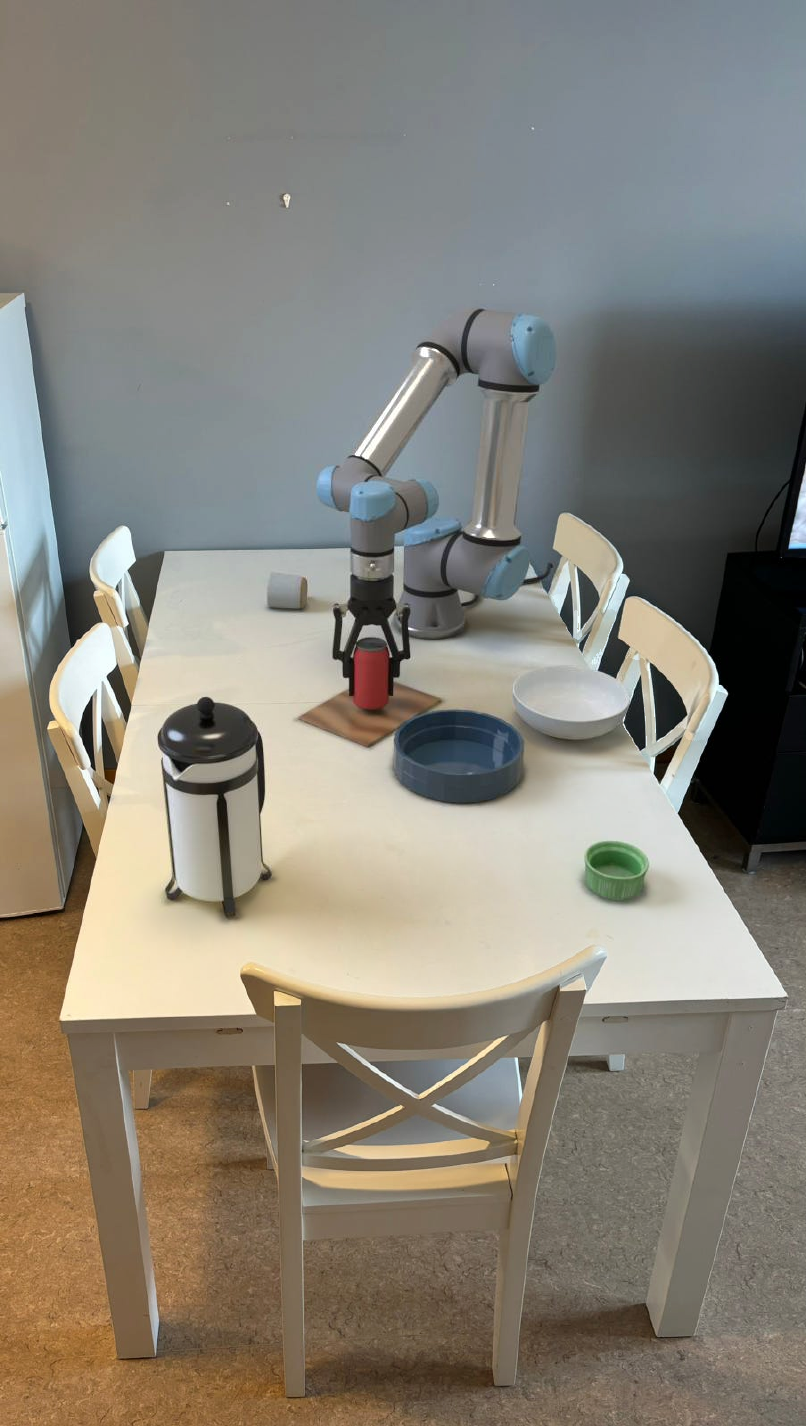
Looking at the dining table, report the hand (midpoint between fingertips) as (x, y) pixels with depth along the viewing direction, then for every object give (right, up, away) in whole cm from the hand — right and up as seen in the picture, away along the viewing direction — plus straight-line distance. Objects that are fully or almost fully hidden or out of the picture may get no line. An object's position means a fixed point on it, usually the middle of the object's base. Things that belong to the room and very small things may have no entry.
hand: (371, 692), depth 196 cm
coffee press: (-20, -28, -43) cm, 55 cm away
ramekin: (+36, -28, -42) cm, 62 cm away
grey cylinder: (-20, +20, +44) cm, 53 cm away
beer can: (0, -2, +1) cm, 2 cm away
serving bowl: (+36, -6, -1) cm, 36 cm away
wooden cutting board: (0, -3, +2) cm, 4 cm away
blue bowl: (+15, -13, -16) cm, 25 cm away
